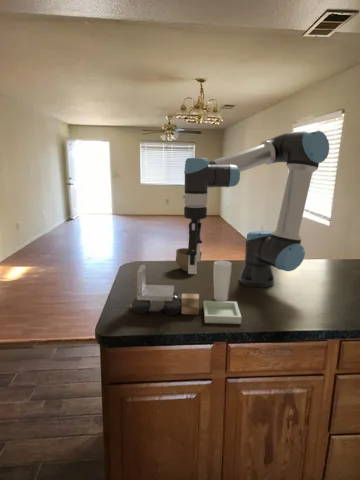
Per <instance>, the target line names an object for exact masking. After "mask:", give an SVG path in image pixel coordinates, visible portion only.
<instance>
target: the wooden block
mask: <svg viewBox="0 0 360 480" xmlns="http://www.w3.org/2000/svg"><path fill="white" fill-rule="evenodd" d="M181 297H182V305H181V311H180V312H181V314H182V315H199V311H200V309H199V307H200V293H182V294H181Z"/></svg>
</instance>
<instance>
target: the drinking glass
mask: <svg viewBox="0 0 360 480" xmlns="http://www.w3.org/2000/svg"><path fill="white" fill-rule="evenodd" d="M212 268H213V271H212V272H213V273H212V275H213V300H214V301H229V300H228V299H229V290H230V284H231V276H232V262H230V261H229V260H221V259H220V260H215V261H214V262H213V267H212Z"/></svg>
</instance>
